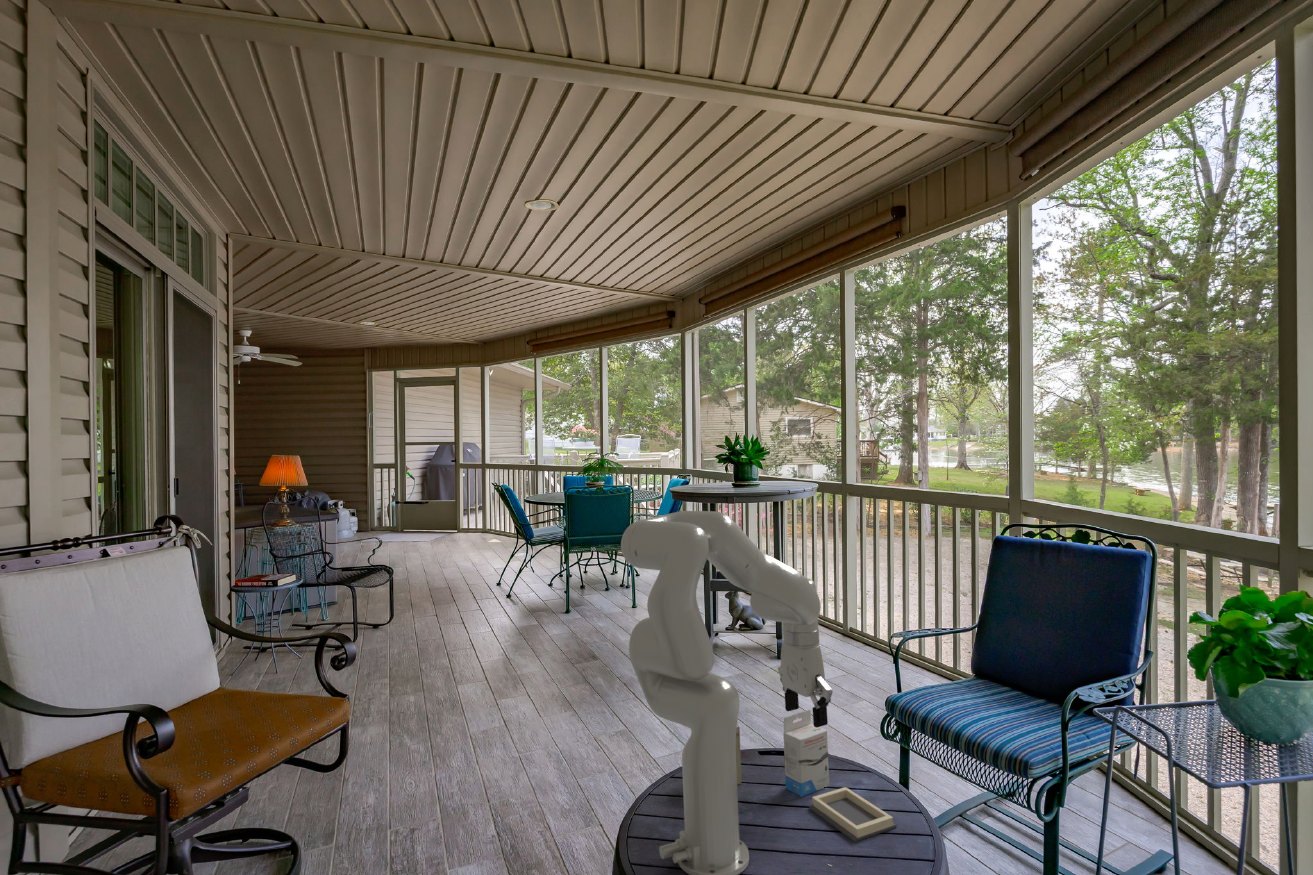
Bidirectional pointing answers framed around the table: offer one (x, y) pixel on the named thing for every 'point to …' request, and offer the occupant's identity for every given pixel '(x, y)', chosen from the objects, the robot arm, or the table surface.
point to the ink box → (805, 755)
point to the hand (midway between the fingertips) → (806, 717)
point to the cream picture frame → (851, 814)
